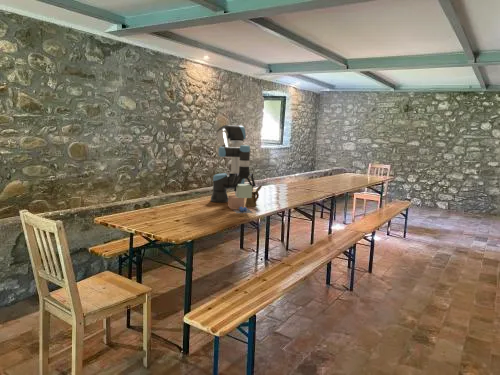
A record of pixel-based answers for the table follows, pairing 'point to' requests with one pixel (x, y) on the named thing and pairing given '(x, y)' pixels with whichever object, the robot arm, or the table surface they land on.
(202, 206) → the table surface
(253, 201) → the wooden mug
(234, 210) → the slate tile
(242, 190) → the sage cover
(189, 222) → the table surface
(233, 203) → the terracotta cover
